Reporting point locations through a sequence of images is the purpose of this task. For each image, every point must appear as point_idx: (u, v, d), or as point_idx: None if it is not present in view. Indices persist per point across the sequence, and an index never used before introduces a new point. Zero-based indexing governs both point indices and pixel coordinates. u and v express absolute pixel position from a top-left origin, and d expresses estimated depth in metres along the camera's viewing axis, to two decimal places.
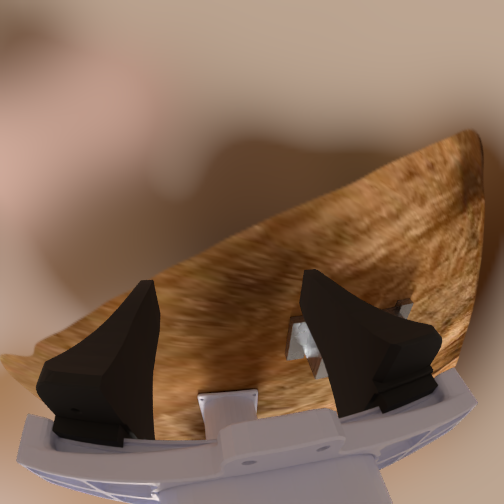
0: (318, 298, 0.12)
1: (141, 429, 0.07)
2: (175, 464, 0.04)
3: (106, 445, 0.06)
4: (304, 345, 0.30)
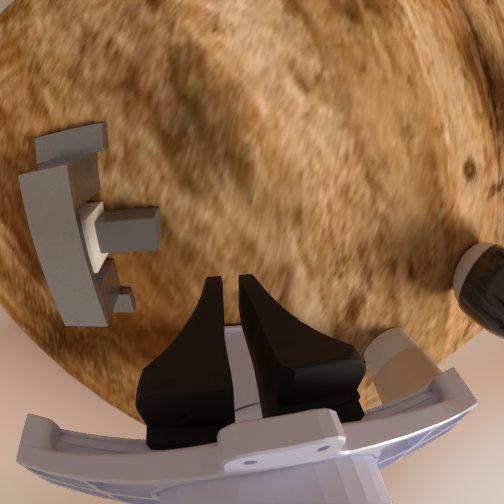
0: (246, 306, 0.11)
1: None
2: (175, 464, 0.04)
3: None
4: None
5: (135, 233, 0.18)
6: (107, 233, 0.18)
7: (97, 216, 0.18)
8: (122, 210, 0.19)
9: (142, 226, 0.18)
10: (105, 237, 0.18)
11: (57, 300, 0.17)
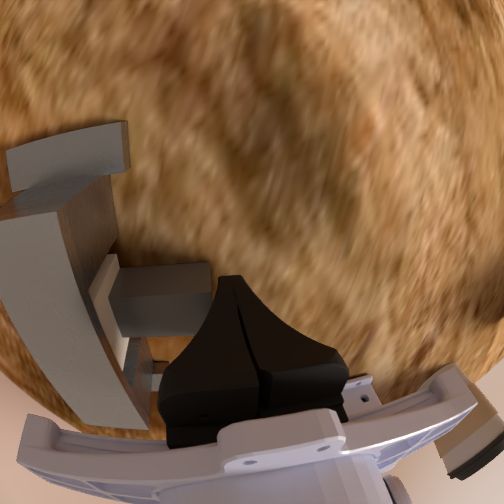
0: None
1: None
2: (175, 464, 0.04)
3: None
4: None
5: (179, 312, 0.12)
6: (131, 312, 0.11)
7: (111, 283, 0.11)
8: (150, 268, 0.13)
9: (192, 303, 0.11)
10: (128, 317, 0.11)
11: (70, 401, 0.10)
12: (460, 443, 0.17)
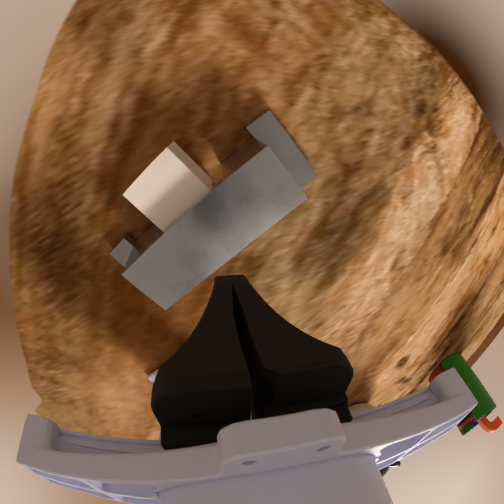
0: (236, 307, 0.11)
1: None
2: (175, 464, 0.04)
3: None
4: None
5: None
6: None
7: None
8: None
9: None
10: None
11: (149, 254, 0.16)
12: None
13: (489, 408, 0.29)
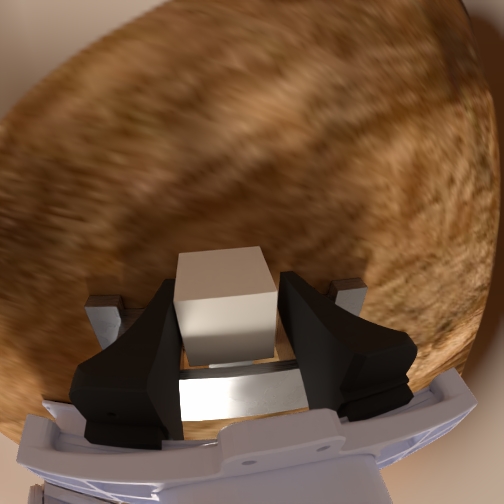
0: (292, 301, 0.12)
1: (175, 430, 0.07)
2: (175, 464, 0.04)
3: (143, 449, 0.06)
4: None
5: None
6: None
7: None
8: None
9: None
10: None
11: None
12: None
13: None
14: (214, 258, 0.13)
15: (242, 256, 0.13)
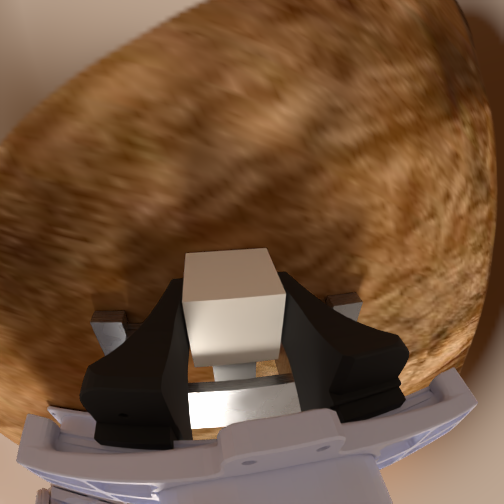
0: None
1: (185, 430, 0.08)
2: (175, 464, 0.04)
3: (155, 449, 0.06)
4: None
5: (238, 376, 0.15)
6: None
7: None
8: None
9: None
10: None
11: None
12: None
13: None
14: (221, 259, 0.13)
15: (249, 258, 0.13)
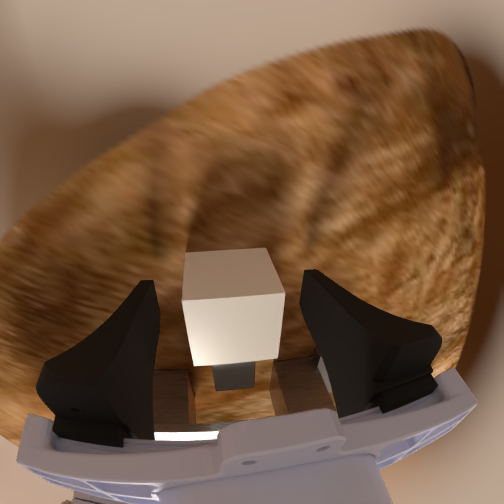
0: (318, 298, 0.12)
1: (141, 429, 0.07)
2: (175, 464, 0.04)
3: (106, 445, 0.06)
4: None
5: (237, 376, 0.15)
6: None
7: None
8: None
9: (245, 380, 0.16)
10: None
11: (182, 434, 0.14)
12: None
13: None
14: (221, 258, 0.13)
15: (249, 257, 0.13)
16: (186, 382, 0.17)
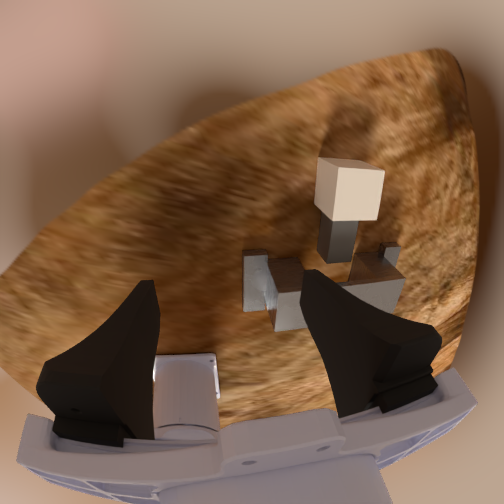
0: (318, 298, 0.12)
1: (141, 429, 0.07)
2: (175, 464, 0.04)
3: (106, 445, 0.06)
4: (263, 290, 0.25)
5: (343, 247, 0.23)
6: (349, 224, 0.22)
7: None
8: None
9: (347, 253, 0.23)
10: (346, 221, 0.22)
11: None
12: None
13: None
14: (341, 160, 0.21)
15: (355, 161, 0.21)
16: (300, 263, 0.24)
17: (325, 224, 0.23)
